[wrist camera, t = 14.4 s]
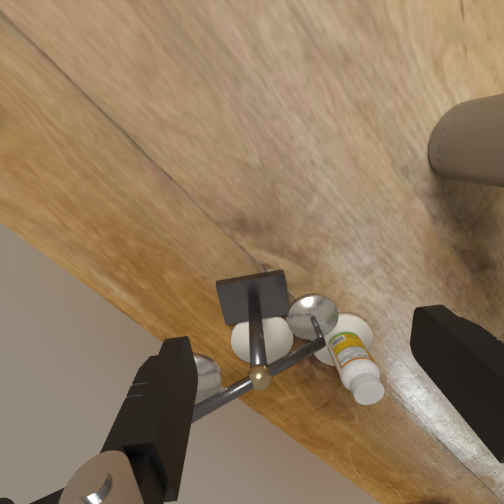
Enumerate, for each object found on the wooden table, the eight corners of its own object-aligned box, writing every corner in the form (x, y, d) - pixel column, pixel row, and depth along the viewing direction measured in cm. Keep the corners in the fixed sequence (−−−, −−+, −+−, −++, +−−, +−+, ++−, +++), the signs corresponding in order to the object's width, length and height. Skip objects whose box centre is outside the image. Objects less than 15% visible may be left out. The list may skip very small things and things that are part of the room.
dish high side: (290, 307, 42) (291, 311, 40) (293, 356, 45) (294, 361, 44) (227, 313, 42) (227, 318, 40) (235, 362, 45) (235, 367, 44)
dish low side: (371, 309, 42) (375, 313, 41) (367, 357, 46) (370, 362, 45) (309, 315, 42) (311, 320, 41) (310, 363, 46) (312, 368, 45)
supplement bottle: (354, 356, 44) (383, 410, 35) (323, 354, 44) (344, 408, 35) (363, 330, 42) (396, 380, 33) (330, 327, 42) (355, 377, 33)
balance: (319, 263, 39) (385, 363, 21) (322, 302, 41) (384, 423, 23) (181, 287, 40) (129, 404, 22) (193, 324, 42) (156, 457, 24)
